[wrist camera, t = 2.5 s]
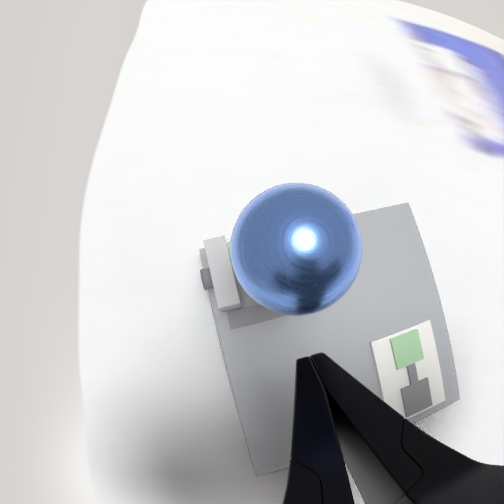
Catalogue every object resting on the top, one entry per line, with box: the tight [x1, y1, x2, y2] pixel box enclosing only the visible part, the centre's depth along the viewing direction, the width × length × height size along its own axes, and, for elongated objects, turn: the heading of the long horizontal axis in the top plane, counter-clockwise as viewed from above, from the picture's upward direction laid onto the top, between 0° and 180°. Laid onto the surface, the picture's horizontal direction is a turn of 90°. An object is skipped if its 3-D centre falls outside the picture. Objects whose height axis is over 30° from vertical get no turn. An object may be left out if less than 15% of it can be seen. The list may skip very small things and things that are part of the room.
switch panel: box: [200, 203, 460, 476], centre depth 15 cm, size 13×13×4 cm
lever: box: [230, 183, 362, 316], centre depth 11 cm, size 3×3×10 cm
